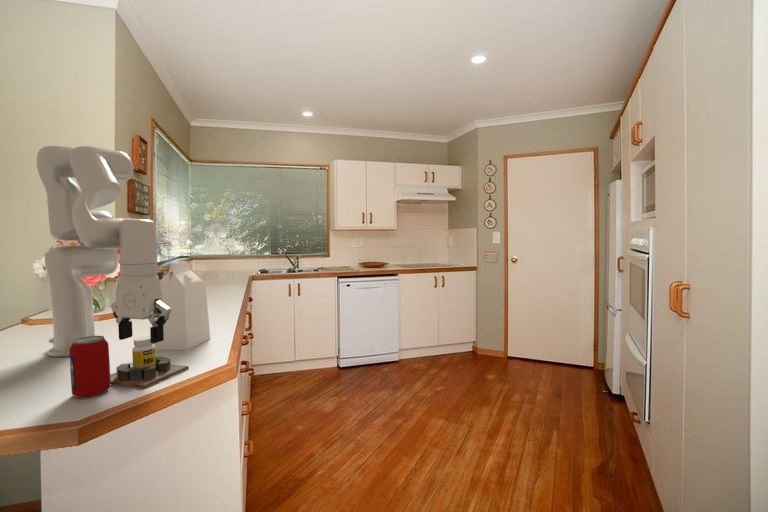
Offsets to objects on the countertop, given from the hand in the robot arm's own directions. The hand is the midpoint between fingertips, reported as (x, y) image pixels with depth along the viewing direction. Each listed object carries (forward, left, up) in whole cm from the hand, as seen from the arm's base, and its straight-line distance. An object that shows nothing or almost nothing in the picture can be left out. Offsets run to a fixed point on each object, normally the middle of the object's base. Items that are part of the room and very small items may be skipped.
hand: (141, 340), depth 93 cm
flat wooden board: (+1, 0, -9) cm, 9 cm away
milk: (-12, +25, -9) cm, 29 cm away
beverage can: (-1, -11, -9) cm, 15 cm away
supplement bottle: (+1, 0, -8) cm, 8 cm away
